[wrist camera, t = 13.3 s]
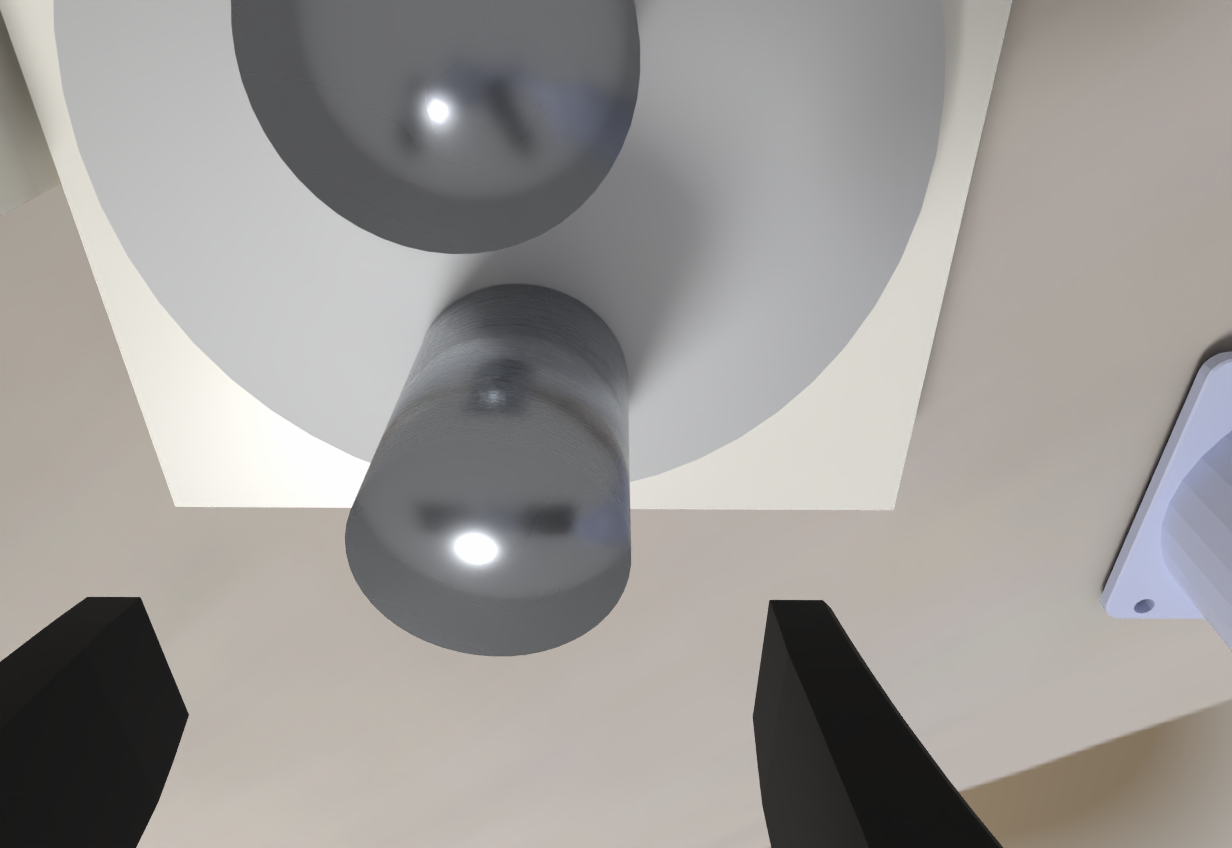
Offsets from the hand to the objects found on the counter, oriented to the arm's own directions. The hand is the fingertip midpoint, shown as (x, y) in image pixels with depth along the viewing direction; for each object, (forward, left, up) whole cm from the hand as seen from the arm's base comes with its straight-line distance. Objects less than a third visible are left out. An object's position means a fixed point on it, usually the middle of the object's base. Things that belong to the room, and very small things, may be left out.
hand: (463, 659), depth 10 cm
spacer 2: (0, 0, -7) cm, 7 cm away
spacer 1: (0, -6, -7) cm, 9 cm away
